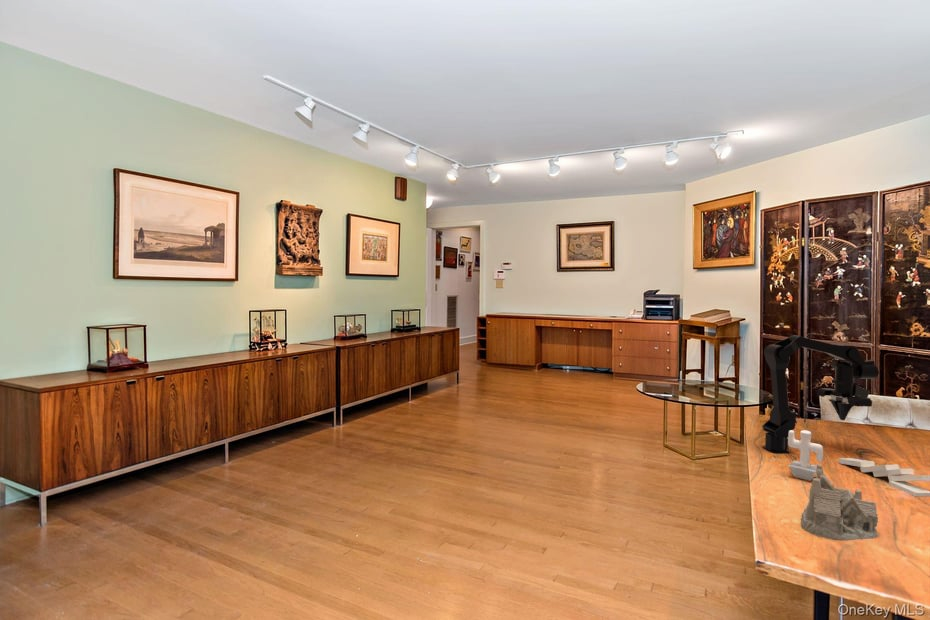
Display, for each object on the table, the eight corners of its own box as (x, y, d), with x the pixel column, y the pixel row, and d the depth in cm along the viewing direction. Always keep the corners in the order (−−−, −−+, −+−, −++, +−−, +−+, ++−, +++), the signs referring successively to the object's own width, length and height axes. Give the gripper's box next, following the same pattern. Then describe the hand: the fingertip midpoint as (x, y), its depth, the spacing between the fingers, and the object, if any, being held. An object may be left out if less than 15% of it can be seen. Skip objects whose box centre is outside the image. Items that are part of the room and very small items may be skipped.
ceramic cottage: (793, 528, 126) (801, 470, 125) (806, 510, 138) (813, 457, 137) (873, 555, 115) (882, 492, 114) (879, 533, 127) (887, 476, 126)
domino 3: (874, 476, 161) (901, 474, 153) (872, 471, 162) (899, 468, 154) (887, 476, 162) (914, 474, 154) (885, 471, 163) (912, 468, 155)
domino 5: (888, 486, 156) (916, 498, 147) (888, 480, 156) (916, 492, 147) (904, 485, 156) (932, 498, 147) (904, 480, 156) (932, 492, 147)
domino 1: (838, 463, 174) (860, 466, 166) (838, 458, 175) (860, 461, 166) (852, 462, 175) (874, 466, 166) (851, 458, 175) (874, 461, 166)
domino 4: (889, 480, 157) (922, 480, 148) (887, 475, 157) (920, 475, 149) (899, 480, 158) (933, 480, 150) (898, 475, 159) (931, 475, 151)
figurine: (818, 484, 155) (821, 436, 154) (783, 475, 162) (785, 430, 161) (824, 478, 160) (826, 432, 159) (789, 470, 167) (791, 426, 166)
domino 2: (861, 472, 166) (886, 470, 157) (859, 467, 166) (884, 464, 158) (874, 471, 166) (900, 469, 158) (872, 466, 167) (898, 464, 159)
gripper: (887, 383, 177) (885, 426, 177) (844, 374, 195) (842, 413, 196) (857, 383, 176) (855, 427, 177) (817, 374, 195) (815, 413, 195)
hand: (842, 420), depth 186 cm, fingers closed
